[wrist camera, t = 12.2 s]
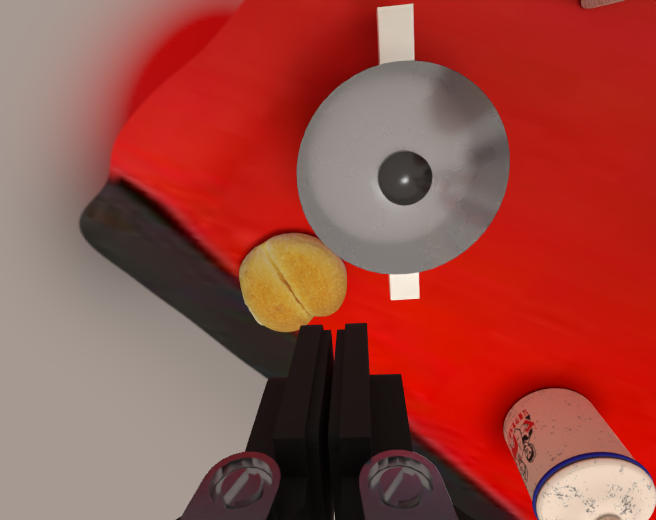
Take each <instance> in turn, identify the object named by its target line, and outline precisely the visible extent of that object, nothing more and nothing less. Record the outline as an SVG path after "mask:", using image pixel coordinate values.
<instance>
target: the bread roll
mask: <svg viewBox="0 0 656 520" xmlns="http://www.w3.org/2000/svg"><path fill="white" fill-rule="evenodd" d="M239 280H240V285H241V290H242V293H243V298H244V301H245V304H246V305H247V306H248V307H249V310H250V311H251V313H252V315H253V316H254V318H255V320H256V321H257V322H258V323H259V324H260V325H264V326H266V327H268V328H270V329H272V330H275V331H280V332H291V331H296V330H299V329H300V326H301V325H307V324H308V323H309V322H310V321H311V319H312V318H313V317H314V316H328V315H331V314H333V313H334V312H336V311H337V310H338V309H339V307H340V306H341V305H342V302H343V300H344V297H345V294H346V290H347V273H346V268H345V265H344V263H343V261H342V259H341V258H340V257H339V256H337V255H336V254H335V253H333V252H332V251H331V250H330V249H329V248H328V247H327V246H326V245H325V244H324V243H323V242H322V241H321V240H320V239H318V238H316V237H313V236H310V235H307V234H302V233H288V234H281V235H277V236H274V237H271V238H270V239H268V240H267V241H265V242H264V243H262V244H260V245H259V246H257V247H255V248H254V249H253V250H252V251H250V253H249V254H248V255H247V256H246V257H245V259H244V260H243V262H242V264H241V266H240V270H239Z"/></svg>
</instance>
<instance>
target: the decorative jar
mask: <svg viewBox="0 0 656 520" xmlns="http://www.w3.org/2000/svg"><path fill="white" fill-rule="evenodd" d="M620 1H624V0H581V6H582V7H583V8H588V9H589V8H596V7H600V6H604V5H609V4H612V3H616V2H620Z"/></svg>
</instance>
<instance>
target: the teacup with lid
mask: <svg viewBox="0 0 656 520" xmlns="http://www.w3.org/2000/svg"><path fill="white" fill-rule="evenodd" d="M504 437H505V440H506V442H507V445H508V447H509V449H510V451H511V454H512V456H513V458H514V460H515V463H516V465H517V467H518V470H519V472H520V474H521V476H522V479H523V481H524V483H525V485H526V488H527V490H528V492H529V494H530V497H531V499H532V505H533V510H534V513H535V515H536V517H537V519H538V520H648V519H649V518H650V516H651V515H652V513H653V510H654V508H655V504H656V489H655V486H654V483H653V480H652V477H651V475H650V474H649V472H648V471H647V470H646V469H645V468H644V467H643V466H642V465H641V464H640V463H639V462H637V461H635V459H634V458H633V457H632V456H631V454H630V453H629V452H628V450H627V449H626V448H625V446H624V445H623V444H622V443H621V441H620V440H619V439H618V437H617V436H616V435H615V433H614V432H613V431H612V430H611V428H610V427H609V426H608V424H607V423H606V422H605V420H604V419H603V418H602V417H601V415H600V414H599V413H598V411H597V410H596V409H595V407H594V406H593V405H592V404H591V402H590V401H589V400H587V399H586V398H585V397H584V396H582V395H580V394H579V393H576V392H574V391H571V390H567V389H560V388H550V389H543V390H539V391H536V392H533V393H531V394H529V395H527V396H525V397H523V398H522V399H520V400H519V401H518V402H517V403H516V404H515V405H514V406H513V407H512V408H511V409H510V411H509V412H508V414H507V416H506V419H505V422H504Z"/></svg>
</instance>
